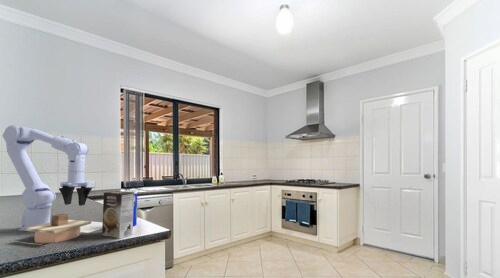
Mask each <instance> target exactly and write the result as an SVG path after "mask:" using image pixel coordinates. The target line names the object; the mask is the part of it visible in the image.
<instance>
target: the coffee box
mask: <svg viewBox="0 0 500 278" xmlns="http://www.w3.org/2000/svg"><path fill="white" fill-rule="evenodd" d="M102 204H103V205H102V222H103V223H102V229H101V236H104V237H111V238H113V239H116V240H120V239H124V238H127V237H130V236H132V235H133V208H134V192H125V191H121V190H115V191H113V190H112V191H105V192H103V203H102Z"/></svg>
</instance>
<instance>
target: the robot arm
mask: <svg viewBox="0 0 500 278" xmlns="http://www.w3.org/2000/svg"><path fill="white" fill-rule="evenodd" d="M2 138H3V140H4V141H5V145H6V146H5V147H6V152H7V154H8V157H9V159H10V160H11V163H12V164H13V166H14V169H15V170H16V172H17V174H18V175H19V178H20V180H21V181H22V184H23V185H24V187H25V189H24V190H23V191H22V193H21V195H22V197H23V205H24V206H25V207H26V209H24V210H23V212H22V214H21V224H20V225H21V228H20V229H18V231H25V228H27V227H32V226H36V225H41V224H45V223H50V222H51V208H52V205H53V203H54V202H55V201H56V199H57V195H56V192H55V191H54V190H52V189H51V188H50V186H49V185H47V184H46V183H44V182H43V181H42V180H41V178H40V176H39V174H38V173H37V170H36V168H35V166H34V164H33V163H32V162H33V161H32V160H31V159H30V156H29V155H28V152H27V150H28V149H30V147H31V145H32V144H34V142H35V141H37V140H38V141H41V142H43V143H48V144H50V145H51V147H52V149H55V150H58V151H60V152H63V153H64V154H65V153H66V155H67V160H68V166H67V167H68V168H67V181H61V182H60V183H59V184H60V187H59V188H58V190H59V192H60V193H61V195H62V199H63V201H64V203H63V204H64V205H65V206H68V205H71V204H72V202H73V201H72V200H73V193H74V190H76V193H77V196H78V206H79V207H81V206H85V204H86V202H87V200H88V196H89V194H90V193H91V191H92V190H93V187H92V182H90V181H89V182H88V181H85V171H86V170H85V169H86V168H85V167H86V156H87V155H88V153H89V146H88V145H87V144H86V143H84V142H77V140H76V139H70V138H67V135H63V134H62V135H56V136H54V135H52V134H51V133H50V134H49V133H47V132H45V131H42V130H39V129H36V128H33V127H24V126H18V125H13V124H12V125H8V126H7V127H6V128H5V130H4V131H3V133H2ZM25 232H26V231H25ZM31 232H34V231H31ZM34 233H35V232H34Z"/></svg>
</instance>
